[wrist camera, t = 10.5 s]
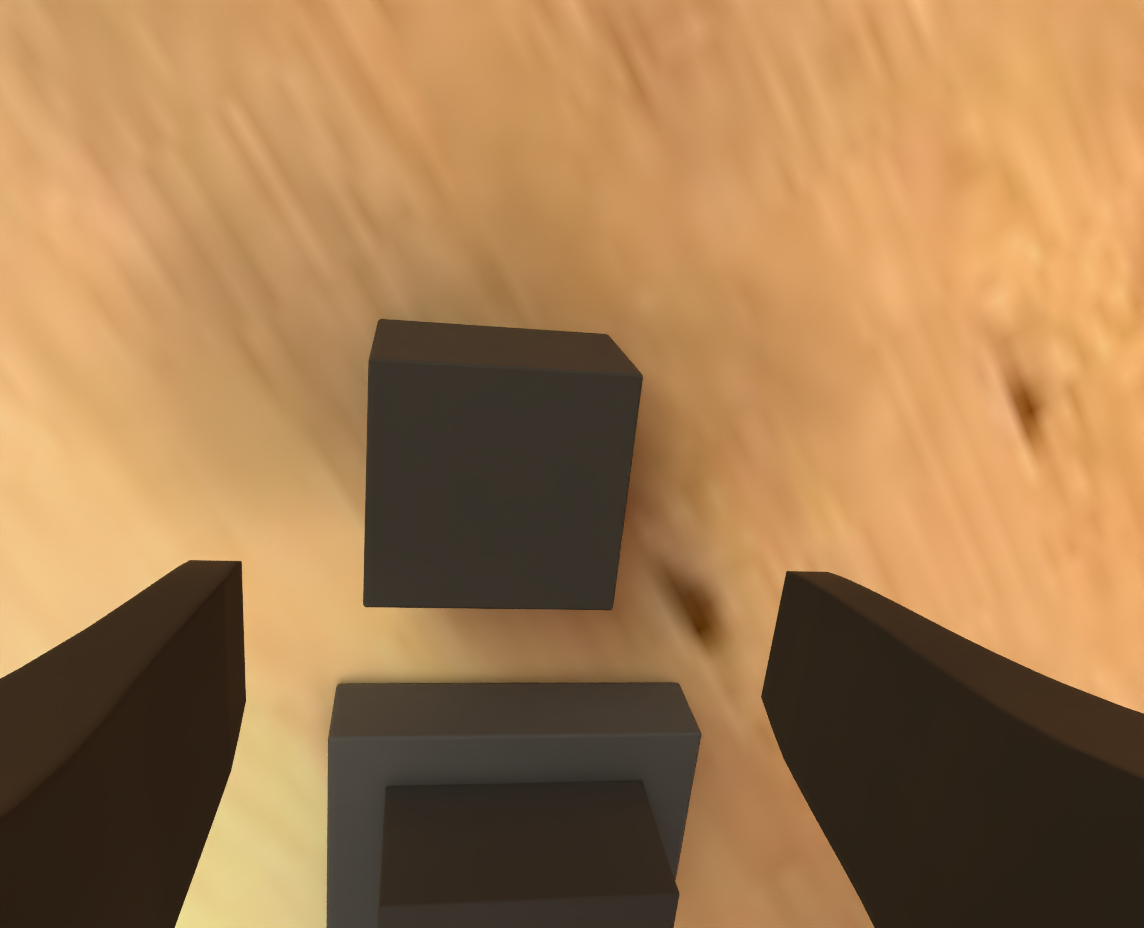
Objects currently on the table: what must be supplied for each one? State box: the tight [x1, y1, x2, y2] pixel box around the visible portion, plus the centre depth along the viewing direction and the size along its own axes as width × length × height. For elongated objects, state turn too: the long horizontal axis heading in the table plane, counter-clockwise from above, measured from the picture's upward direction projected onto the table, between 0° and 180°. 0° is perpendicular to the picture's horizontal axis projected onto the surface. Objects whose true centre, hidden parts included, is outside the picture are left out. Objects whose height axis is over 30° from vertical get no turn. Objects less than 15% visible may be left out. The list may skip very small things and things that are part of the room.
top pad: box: [363, 319, 643, 610], centre depth 17 cm, size 5×5×3 cm
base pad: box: [327, 683, 701, 928], centre depth 21 cm, size 8×8×2 cm
